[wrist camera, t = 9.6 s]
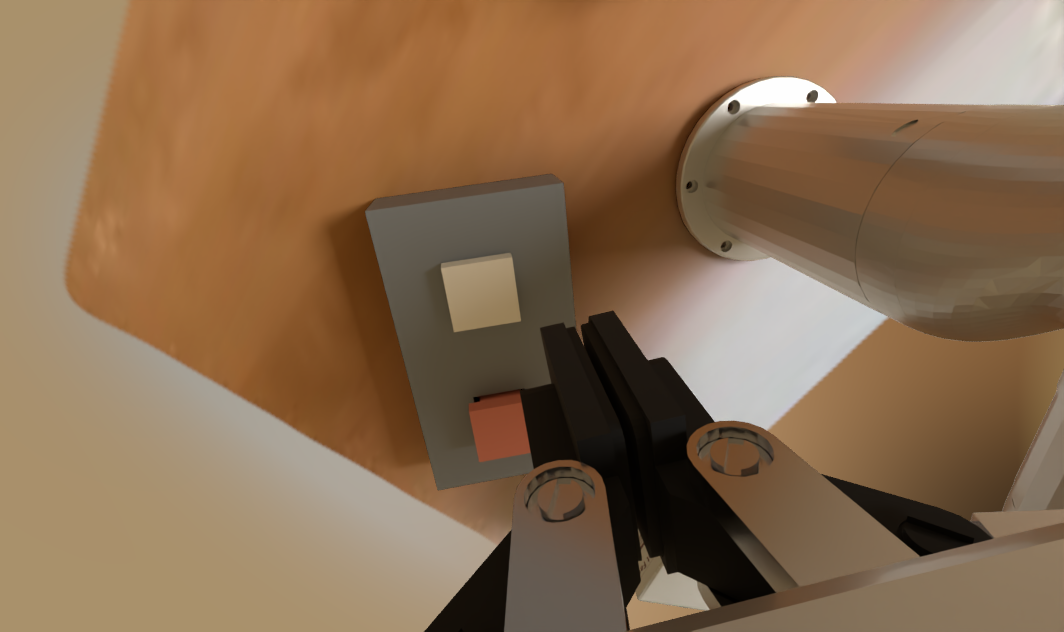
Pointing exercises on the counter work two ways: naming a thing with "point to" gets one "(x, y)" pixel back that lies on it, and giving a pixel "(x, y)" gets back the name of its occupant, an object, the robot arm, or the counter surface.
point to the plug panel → (484, 353)
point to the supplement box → (666, 584)
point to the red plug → (499, 426)
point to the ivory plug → (481, 292)
